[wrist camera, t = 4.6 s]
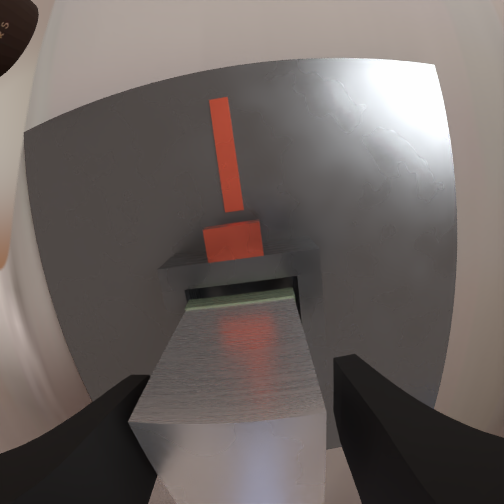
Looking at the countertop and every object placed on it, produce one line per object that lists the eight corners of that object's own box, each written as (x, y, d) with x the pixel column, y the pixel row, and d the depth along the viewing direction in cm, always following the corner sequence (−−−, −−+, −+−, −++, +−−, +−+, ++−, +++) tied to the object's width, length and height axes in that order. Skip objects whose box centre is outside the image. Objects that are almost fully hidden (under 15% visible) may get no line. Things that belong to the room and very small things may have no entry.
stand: (424, 413, 17) (443, 444, 13) (125, 445, 18) (111, 477, 15) (425, 70, 12) (460, 50, 9) (34, 133, 13) (-6, 128, 10)
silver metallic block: (300, 372, 11) (325, 504, 5) (209, 381, 12) (180, 511, 5) (292, 287, 11) (329, 409, 5) (189, 299, 11) (124, 419, 5)
